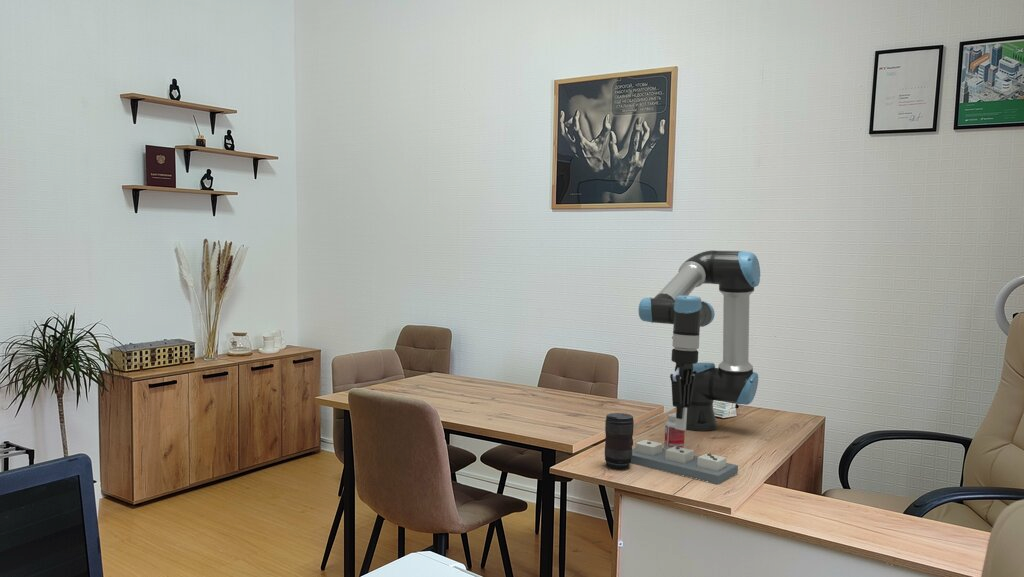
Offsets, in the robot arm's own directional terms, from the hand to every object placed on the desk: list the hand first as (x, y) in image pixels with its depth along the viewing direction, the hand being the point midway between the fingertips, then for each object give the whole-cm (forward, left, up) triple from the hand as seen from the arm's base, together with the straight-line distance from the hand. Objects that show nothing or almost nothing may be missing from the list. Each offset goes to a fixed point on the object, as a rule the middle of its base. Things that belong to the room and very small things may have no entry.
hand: (680, 429), depth 211 cm
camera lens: (+13, -13, -12) cm, 22 cm away
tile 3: (0, +10, -10) cm, 14 cm away
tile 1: (0, -10, -10) cm, 14 cm away
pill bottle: (-17, -10, -12) cm, 23 cm away
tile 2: (0, 0, -10) cm, 10 cm away
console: (0, 0, -11) cm, 11 cm away
